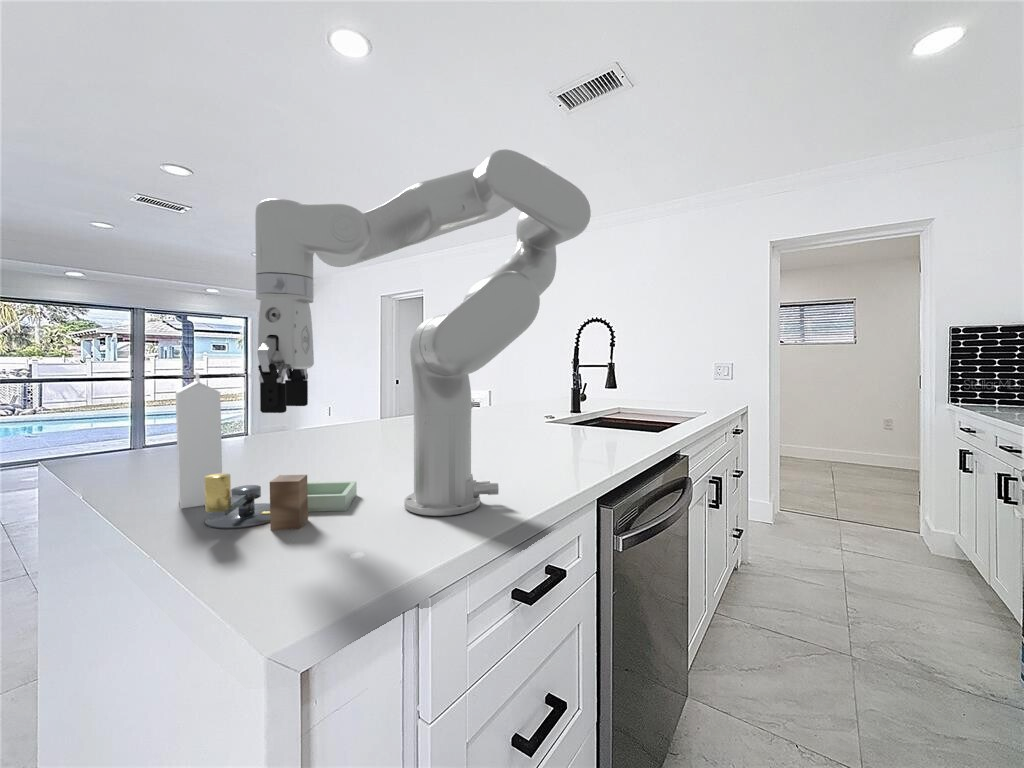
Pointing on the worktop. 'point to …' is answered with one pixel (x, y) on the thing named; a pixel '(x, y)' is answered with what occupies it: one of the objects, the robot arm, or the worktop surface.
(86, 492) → the worktop surface
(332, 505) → the tray
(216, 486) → the crank
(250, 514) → the crank base
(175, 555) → the worktop surface
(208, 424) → the milk
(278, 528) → the block
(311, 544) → the worktop surface
